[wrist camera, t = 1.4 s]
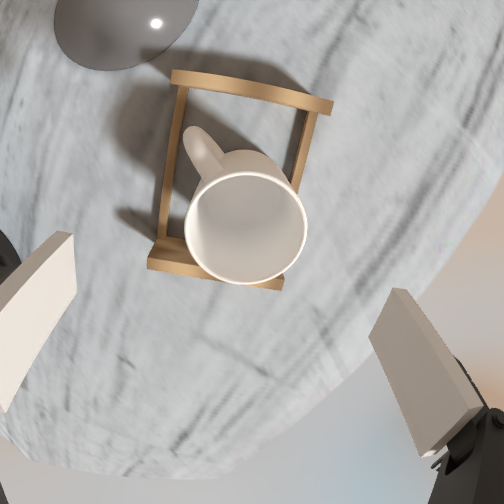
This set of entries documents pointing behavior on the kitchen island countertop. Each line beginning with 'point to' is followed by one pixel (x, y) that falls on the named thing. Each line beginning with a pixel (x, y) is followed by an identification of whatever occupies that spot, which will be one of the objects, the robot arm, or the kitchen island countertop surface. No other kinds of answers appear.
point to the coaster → (119, 30)
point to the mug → (241, 213)
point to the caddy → (165, 247)
